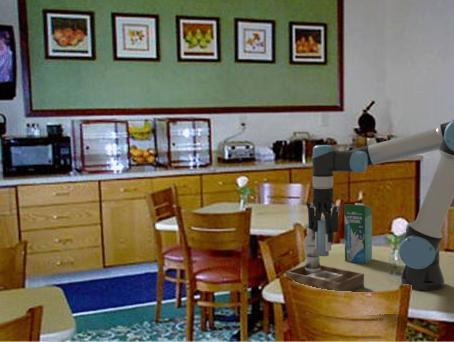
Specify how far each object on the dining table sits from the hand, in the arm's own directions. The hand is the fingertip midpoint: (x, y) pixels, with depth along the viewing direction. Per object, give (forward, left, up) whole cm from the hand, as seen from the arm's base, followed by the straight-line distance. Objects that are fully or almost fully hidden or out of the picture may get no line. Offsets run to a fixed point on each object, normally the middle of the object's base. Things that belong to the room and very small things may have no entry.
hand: (323, 249), depth 216 cm
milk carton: (+10, -40, -14) cm, 43 cm away
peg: (0, 0, -2) cm, 2 cm away
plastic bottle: (+8, -4, -14) cm, 17 cm away
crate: (0, 0, -14) cm, 14 cm away
